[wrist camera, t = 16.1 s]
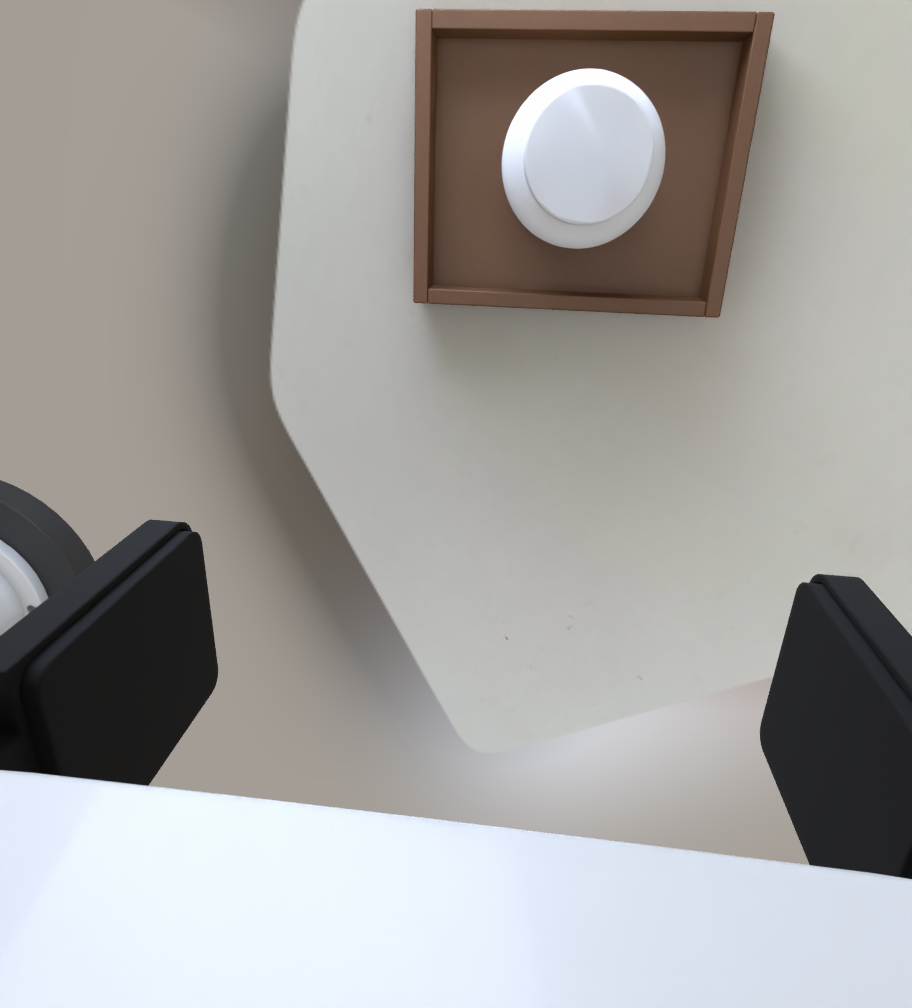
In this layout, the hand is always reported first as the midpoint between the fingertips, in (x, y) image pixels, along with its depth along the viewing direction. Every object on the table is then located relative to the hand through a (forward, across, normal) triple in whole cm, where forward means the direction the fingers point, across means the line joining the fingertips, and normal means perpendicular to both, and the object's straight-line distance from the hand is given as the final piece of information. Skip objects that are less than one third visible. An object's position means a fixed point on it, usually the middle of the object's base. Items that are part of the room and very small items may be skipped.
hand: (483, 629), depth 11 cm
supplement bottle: (+32, -2, -8) cm, 33 cm away
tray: (+32, -2, -8) cm, 33 cm away
